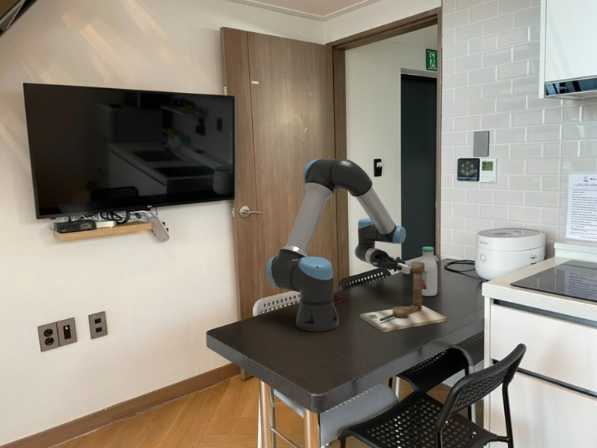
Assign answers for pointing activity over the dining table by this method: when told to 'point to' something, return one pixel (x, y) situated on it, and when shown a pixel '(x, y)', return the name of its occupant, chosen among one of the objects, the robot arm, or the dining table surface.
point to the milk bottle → (429, 272)
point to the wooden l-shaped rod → (417, 292)
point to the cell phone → (339, 298)
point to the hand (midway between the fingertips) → (408, 270)
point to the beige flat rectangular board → (402, 319)
